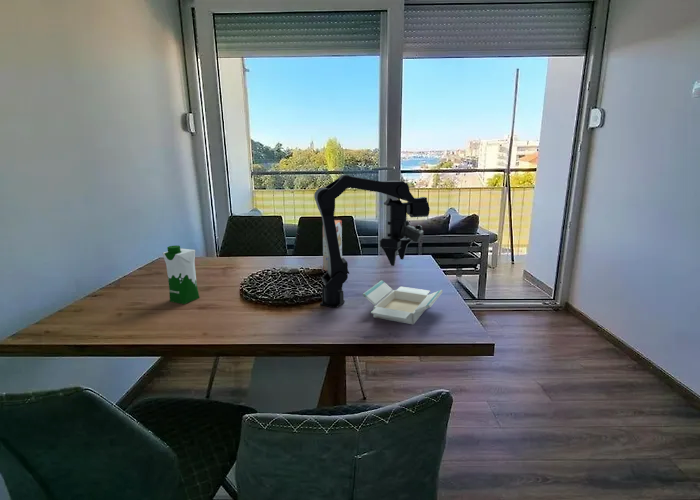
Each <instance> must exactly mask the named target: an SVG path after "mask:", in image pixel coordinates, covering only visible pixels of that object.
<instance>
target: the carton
mask: <svg viewBox="0 0 700 500" xmlns="http://www.w3.org/2000/svg"><path fill="white" fill-rule="evenodd" d="M429 294H431V290H428V289H421V288H414V287H408V286H399V287H398V288H397V289H393V290H392V291H391V292H390V293H388V294H387V295H386V296H385V297H384V298H383V299H381V300H380V301H379V302H378V303H377V304H375V305H373V310H372V311H371V312H370V314H372V315H373V318H375V319H382V320H386V321H392V322H398V323H402V324H403V323H404V324H408V325H415V323H417V321H418V320H419V319H420V317H421V316H422V315H423V313H424V312H425V311H426V310H427V309H424V310H422V311H419V312H415V309H416V308H417V307H418V306H419V305H420V304H421V303H422V301H423V300H424V299H425V298H426V297H427V296H428V295H429Z"/></svg>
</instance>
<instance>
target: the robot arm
mask: <svg viewBox="0 0 700 500" xmlns="http://www.w3.org/2000/svg"><path fill="white" fill-rule="evenodd" d="M350 188H351V189H356V190H362V191H369V192H377V193H380V194H384V195H387V196H389V197H388V198H387V200H385V202H383V205H385V206H387V207H388V206H389V221H387V225H389V232H388V233H387V236H385V237H382V238H381V239H380V240H379V247H381V249H382V250H383V252H384V253H385V256H386V257H387V260H388V262H389V264H390V266H391V267H395V265H396V259H397V255H398V256H399V259H400V260H404V258H405V255H406V253H407V248H408V245H409V244H410V243H411V242H414V243H415V242H416V243H418V242H420V241H421V239H422V236H423V235H424V230H423V226H422V225H421V224H417V225H416V226H414V225H413V226H412V225H410V221H409V220H407V218H408V217H407V216H409V217H410V218H426V217H429V215H430V211H431V209H430V204H429V201H428V197H426V196H421V197H414V195H413V194H412V193H411V191H410V186H409V183H407V182H406V181H400V180H374V179H369V178H364V177H363V178H361V177H356V176H351V175H348V174H341V175H340V176H339V177H338V178H337V179H335V180H334V181H332V182H331V183H329V184H328V185H326V186H325V187H319V188H318V189H316V191H315V192H314V195H313V196H314V200H315V203H316V206H317V209H318V211H319V213H320V215H321V221H322V228H323V227H324V233H325V238H326V244H327V250H328V271H326V273H325V274H324V275H323V276H322V277H321V280H322V283H323V284H324V285H322V286H321V297H322V301H321V302H320V303H319V305H320V306H324V307H330V308H338V307H339V306H341V305H342V304H344V303H345V302H346V301H345V300H344V290H343V285H344V283H345V282H346V281H347V280H348V278H349V277H348V274H350V271H349V268H348V267H349V266H348V261H347V260H346V259H345V258H344V257H342V258H341V256H340V250H339V244H338V237H337V231H336V225H335V220H336V218H335V210H336V209H335V208H336V199H337V198H339V196H341V195H342V194H343V193H344V192H345V191H346V190H347V189H350ZM391 197H393V198H395V199H393V198H391ZM403 201H404V202H403Z"/></svg>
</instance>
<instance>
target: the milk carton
mask: <svg viewBox="0 0 700 500" xmlns="http://www.w3.org/2000/svg"><path fill="white" fill-rule="evenodd" d="M166 247H167V248H166V249H167V251H164V252H162V257H163V260H164V262H165V265H166V272H167V273H166V274H167V282H168V288H169V289H168V291H169V302H170V303H174V304H180V305H186V304H188V303H190V302H193V301H196V300H197V299H200V294H199V289H198V284H197V283H198V282H197V274H196V264H195V263H196V262H195V260H196V259H195V257H196V249H190V248H189V249H188V248H181V245H170V246H166Z"/></svg>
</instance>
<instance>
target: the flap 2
mask: <svg viewBox="0 0 700 500" xmlns="http://www.w3.org/2000/svg"><path fill="white" fill-rule="evenodd" d="M443 293H444V291H443V289H439V290H438V291H435V292H432V293H429V294H428V296H427V297H426V298H425V299H424V300H423V301H422V303H421V304H420V305H419V306H418V307H417V308H416V309H415V312H419V311H422V310H424V309H426V310H427V309H430V308H431V307H432V306H433V304H435V302H436V301H437V300H438V299H439V297H440V296H441V295H442V294H443Z"/></svg>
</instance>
